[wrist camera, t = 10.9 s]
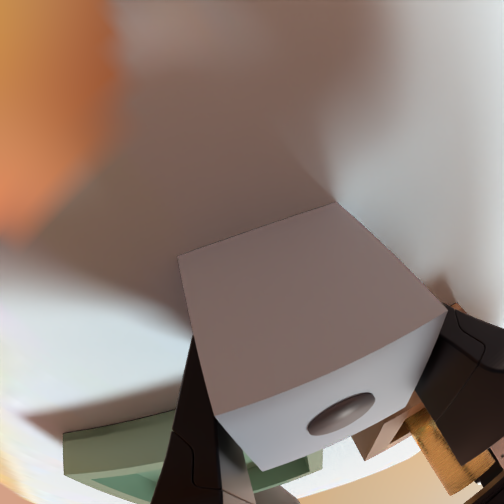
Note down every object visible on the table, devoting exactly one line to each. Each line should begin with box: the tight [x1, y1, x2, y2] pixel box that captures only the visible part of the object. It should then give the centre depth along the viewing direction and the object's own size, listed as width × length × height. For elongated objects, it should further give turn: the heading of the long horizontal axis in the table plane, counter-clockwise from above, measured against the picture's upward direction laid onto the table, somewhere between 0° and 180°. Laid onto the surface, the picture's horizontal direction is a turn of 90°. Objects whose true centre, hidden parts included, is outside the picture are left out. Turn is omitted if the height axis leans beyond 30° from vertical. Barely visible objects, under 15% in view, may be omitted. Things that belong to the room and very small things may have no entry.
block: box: [177, 202, 448, 472], centre depth 9 cm, size 5×5×5 cm
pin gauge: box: [403, 407, 495, 496], centre depth 14 cm, size 3×3×9 cm
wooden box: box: [351, 303, 467, 461], centre depth 17 cm, size 8×8×4 cm
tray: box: [63, 410, 323, 504], centre depth 16 cm, size 13×13×2 cm
